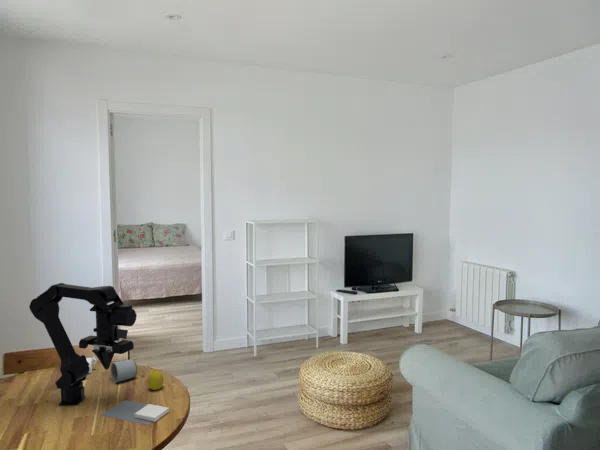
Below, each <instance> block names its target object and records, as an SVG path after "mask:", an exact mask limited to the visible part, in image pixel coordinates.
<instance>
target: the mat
mask: <svg viewBox="0 0 600 450" xmlns="http://www.w3.org/2000/svg"><path fill="white" fill-rule="evenodd" d="M148 404H149V403H148ZM148 404H147V403H142V402H136V401H132V400H127V399H124V400H123V401H121V402H120V403H118V404H116V405H114V406H113V407H111V408H110V409H108V410H106V411H105V412H102V413H101V414H100V416H102V417H107V418H108V417H109V418H113V419H118V420H122V421H126V422H132V423H135V424H141V425H145V426H146V425H147V426H150V425H151V424H152V423H153V422H152V421H147V420H143V419H138V418H136V417H135V415H134V414H135V413H136V412H138V411H139V410H141V409H142V408H144V407H145V406H147V405H148ZM170 410H171V408H169V411H170Z"/></svg>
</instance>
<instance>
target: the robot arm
mask: <svg viewBox="0 0 600 450" xmlns="http://www.w3.org/2000/svg"><path fill="white" fill-rule="evenodd" d="M63 298H67V299H68V298H69V299H76V300H82V301H86V302H88V303H89V304H90V305H93V306H92V307H91V308H90V309H89V311H90V312H94V313H95V326H96V327H94V328H93V331H92V332H95V333H96V335H92V334H91V335H89V336H86V337H83V338H81V339H80V340H79V342H78V348H79V349H82V350H83V349H84V350H86V349H87V348H88V346H93V349H92V350H91V352H92V353H93V354H94V356H95V357H97V359H98V360H99V362H100V364H101V365H102V366H103V368H104V370H109V369H110V368H111V365H112V361H113V357H114V356H115V354H119V355H123V354H125V353H128V352H129V351H132V350H134V348H135V347H134V346H135V345H134V341H132V340H127V337H128V333H129V332H128V331H129V330H128V329H123V328H122V329H121V328H119V327H120V326H121V327H132V326H133V325H135V324H136V322H137V313H136V310H135V309H134V308H133V305H130V304H127V305H126V304H124V302H123V300H122V299H121V297H120V296H119V295H118V293H117V290H116V289H115V287H114V286H112V285H101V286H95V287H90V286H83V285H75V284H67V283H64V282H59V283H55V284H52V285H51V286H49V287H48V288H47V289H46V290H45V291H44V292H42V293H41V294H39V295H38V296H36V298H32V299H31V300H30V303H29V310H30V312H31V314H32V315H33V317H34V318H35V319H36V320H38V321H39V322H41V323H42V324H43V326H44V327H45V329H46V331H47V334H48V336H49V338H50V340H51V342H52V344H53V346H54V349H55V350H56V354H58V357H59V359H60V366H59V368H60V369H59V370H60V374H61V376H60V377H59V378H58V379H57V380H56V381H55V385H56V389H60V402H58V405H59V406H77V405H79V404H81V402H82V401H83V400H85V398H86V395H85V386H84V384H83V383H84V381H86V380H87V377H88V375H89V374H90V373H89V370H90V369H89V366H88V365H90V364H89V363H88V362H87V360H86V358H87V357H86V355H84V354H82V355H79V354H78V353H77V352H76V351H75V349H74V346H73V343H72V342H71V340H70V337H69V335H68V333H67V332H66V329H65V327H64V325H63V323H62V322H61V319H60V316H59V314H60V305H59V303H60V302H61V301H62V300H63ZM118 326H119V327H118ZM120 339H122V340H120Z"/></svg>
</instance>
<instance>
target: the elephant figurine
mask: <svg viewBox="0 0 600 450" xmlns="http://www.w3.org/2000/svg"><path fill="white" fill-rule="evenodd" d="M86 360H87V362H88V363H89V364H90V365H88V366H89V369H90V370H89V373H88V374H91V373H92V371H93V365H96V364H97V362H98V361H97V359H96V356H95V355H93V357H86Z"/></svg>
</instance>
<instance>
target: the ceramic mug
mask: <svg viewBox="0 0 600 450" xmlns="http://www.w3.org/2000/svg"><path fill="white" fill-rule="evenodd" d="M137 374H138V365H137V362H136V361H135V360H134V359H125V360H120V361H113V362H111V364H110V376H111V379H112V381H113V383H115V384H117V383H121V382H124V381H127V380H131V379H133V378H135V377H136V376H137Z"/></svg>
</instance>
